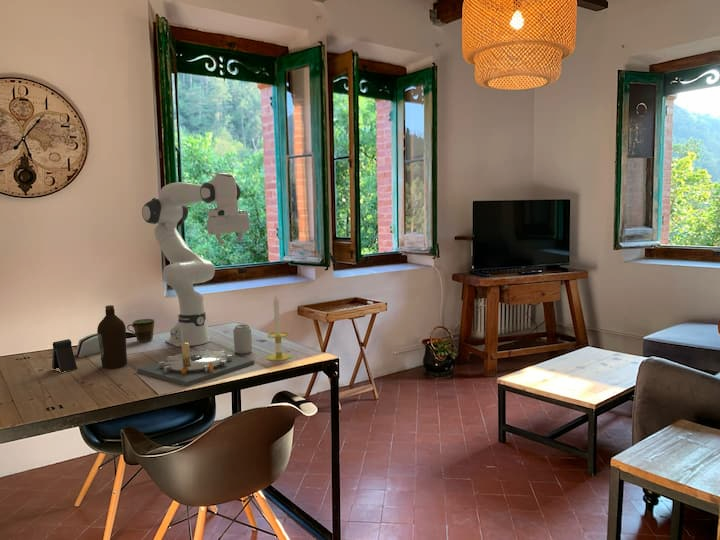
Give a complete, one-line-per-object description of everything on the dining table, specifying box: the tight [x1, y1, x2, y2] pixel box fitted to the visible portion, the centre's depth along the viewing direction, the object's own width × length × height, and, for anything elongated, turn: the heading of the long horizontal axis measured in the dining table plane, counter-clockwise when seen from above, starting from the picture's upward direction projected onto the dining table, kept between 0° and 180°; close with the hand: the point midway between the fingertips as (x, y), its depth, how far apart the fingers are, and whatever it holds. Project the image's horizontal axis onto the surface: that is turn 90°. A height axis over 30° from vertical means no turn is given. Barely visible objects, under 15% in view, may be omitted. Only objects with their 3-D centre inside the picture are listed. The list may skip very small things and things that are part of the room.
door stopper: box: [51, 339, 78, 372], centre depth 222 cm, size 9×6×12 cm, turn 52°
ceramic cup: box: [126, 318, 155, 343], centre depth 266 cm, size 13×10×10 cm
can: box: [233, 323, 253, 355], centre depth 239 cm, size 8×8×12 cm
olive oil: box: [96, 304, 128, 370], centre depth 224 cm, size 11×11×25 cm
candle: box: [266, 295, 292, 362], centre depth 228 cm, size 10×10×27 cm
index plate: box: [136, 349, 255, 387], centre depth 218 cm, size 32×32×6 cm
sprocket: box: [158, 342, 233, 374], centre depth 217 cm, size 27×28×11 cm
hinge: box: [73, 332, 100, 358], centre depth 248 cm, size 17×5×10 cm, turn 151°
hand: (230, 243), depth 236 cm, fingers open, 8 cm apart
